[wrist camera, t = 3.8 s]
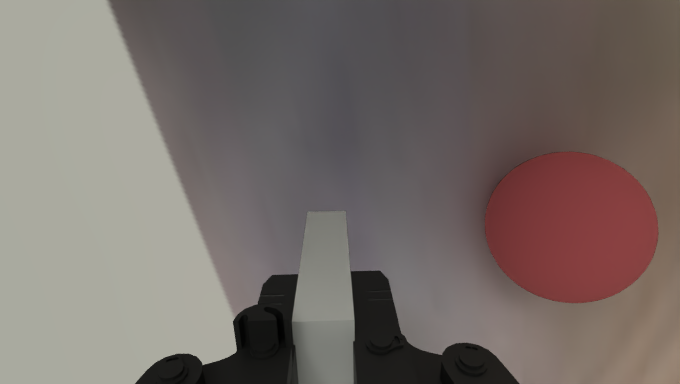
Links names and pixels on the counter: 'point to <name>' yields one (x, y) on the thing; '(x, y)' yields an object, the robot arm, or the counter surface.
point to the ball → (571, 227)
